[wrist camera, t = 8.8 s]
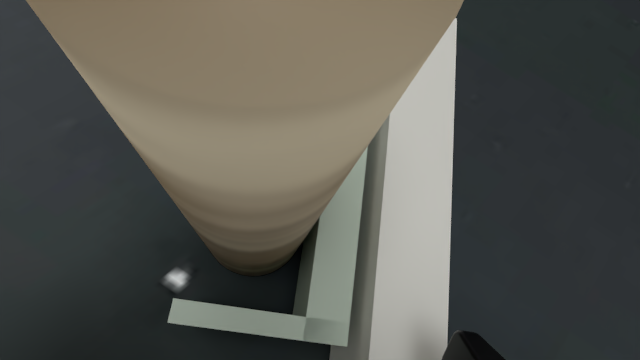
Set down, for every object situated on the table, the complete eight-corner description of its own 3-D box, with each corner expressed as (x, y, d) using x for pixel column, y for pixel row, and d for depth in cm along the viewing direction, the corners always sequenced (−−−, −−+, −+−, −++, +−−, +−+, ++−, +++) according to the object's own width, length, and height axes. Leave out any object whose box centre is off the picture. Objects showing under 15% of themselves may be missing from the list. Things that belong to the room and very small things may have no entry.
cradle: (190, 318, 14) (167, 322, 10) (232, 132, 16) (225, 79, 13) (322, 337, 15) (347, 346, 11) (345, 153, 17) (371, 108, 13)
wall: (319, 446, 13) (354, 519, 9) (360, 84, 18) (399, 5, 13) (376, 452, 14) (441, 528, 9) (404, 93, 18) (456, 18, 13)
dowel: (315, 255, 15) (552, 35, 3) (223, 291, 14) (55, 181, 2) (282, 170, 16) (367, -261, 4) (193, 200, 15) (-49, -243, 3)
